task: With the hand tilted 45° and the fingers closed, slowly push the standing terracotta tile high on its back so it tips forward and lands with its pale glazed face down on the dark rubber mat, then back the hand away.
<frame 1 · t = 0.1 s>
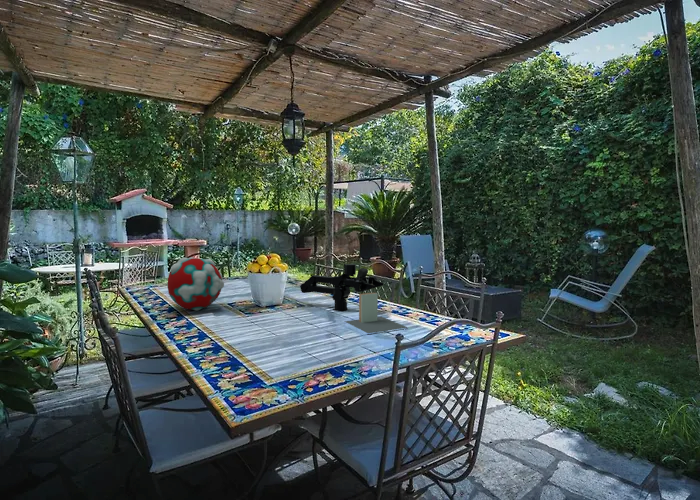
hand: (379, 285, 223), 17 cm above the table, tool horizontal, fingers open, 9 cm apart
mat: (375, 325, 203), on the table
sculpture: (196, 309, 238), on the table
tile: (368, 321, 209), point 1 cm above the table, touching mat
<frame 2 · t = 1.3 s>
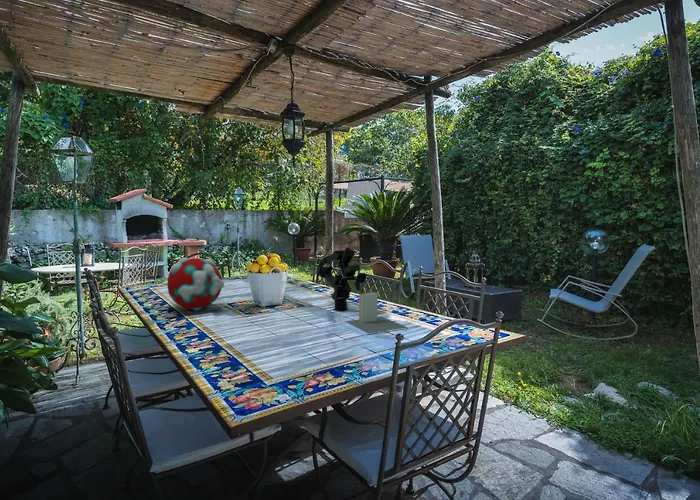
hand: (354, 291, 221), 14 cm above the table, tool tilted 45°, fingers open, 5 cm apart
nothing on the table moved.
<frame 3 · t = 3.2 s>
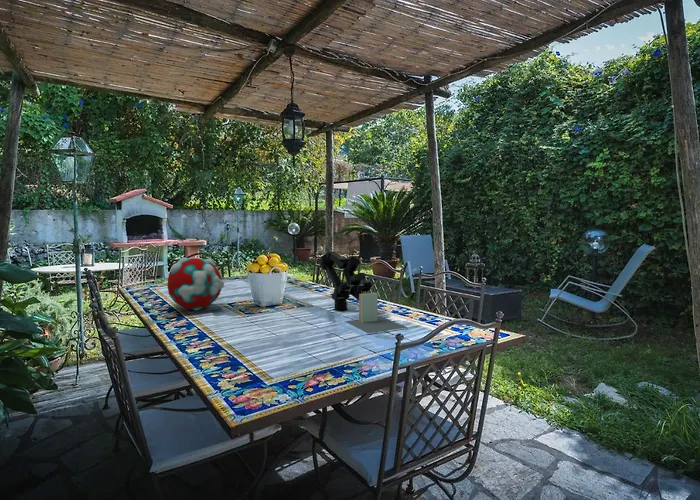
hand: (360, 300, 216), 10 cm above the table, tool tilted 45°, fingers closed
nothing on the table moved.
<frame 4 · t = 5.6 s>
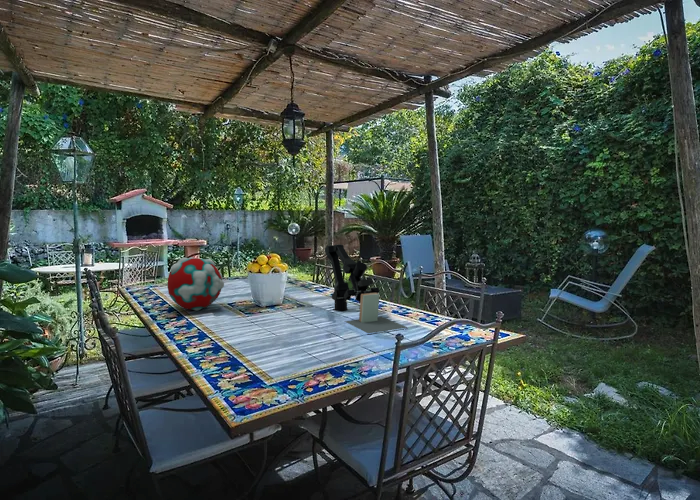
hand: (367, 307, 209), 8 cm above the table, tool tilted 45°, fingers closed
tile: (368, 320, 209), point 1 cm above the table, tilted 7°, touching mat
everything else where it was.
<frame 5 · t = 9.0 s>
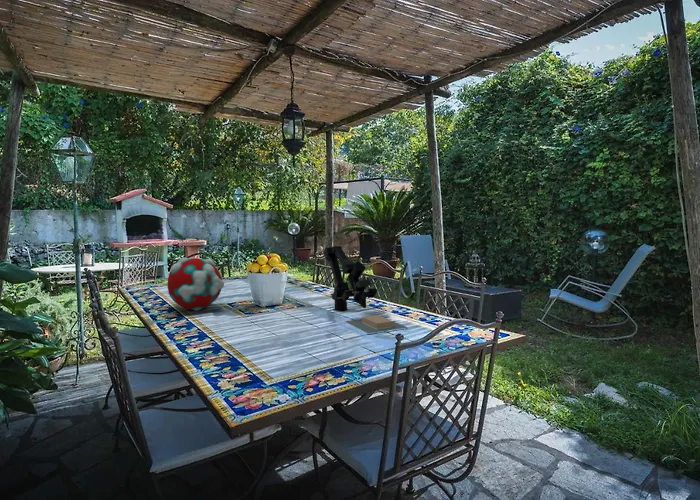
hand: (365, 307, 212), 7 cm above the table, tool tilted 45°, fingers closed
tile: (369, 318, 208), point 2 cm above the table, tilted 90°, touching mat
everything else where it was.
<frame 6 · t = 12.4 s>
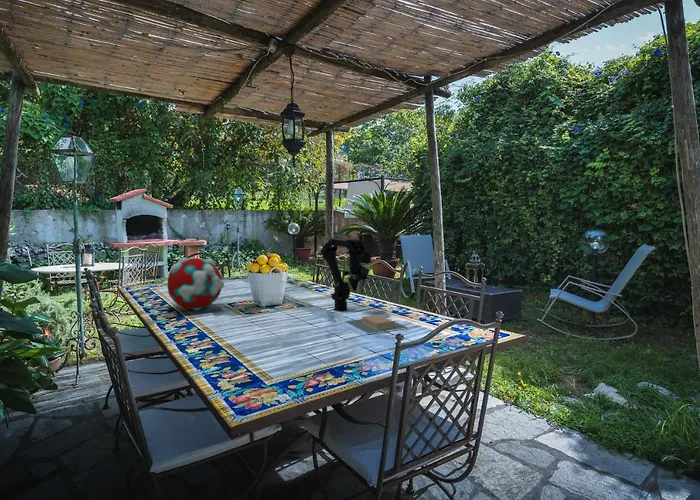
hand: (354, 290, 227), 13 cm above the table, tool pointing down, fingers closed
nothing on the table moved.
at the end: tile tilted 90°; tile touching mat; the gripper is holding nothing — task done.
